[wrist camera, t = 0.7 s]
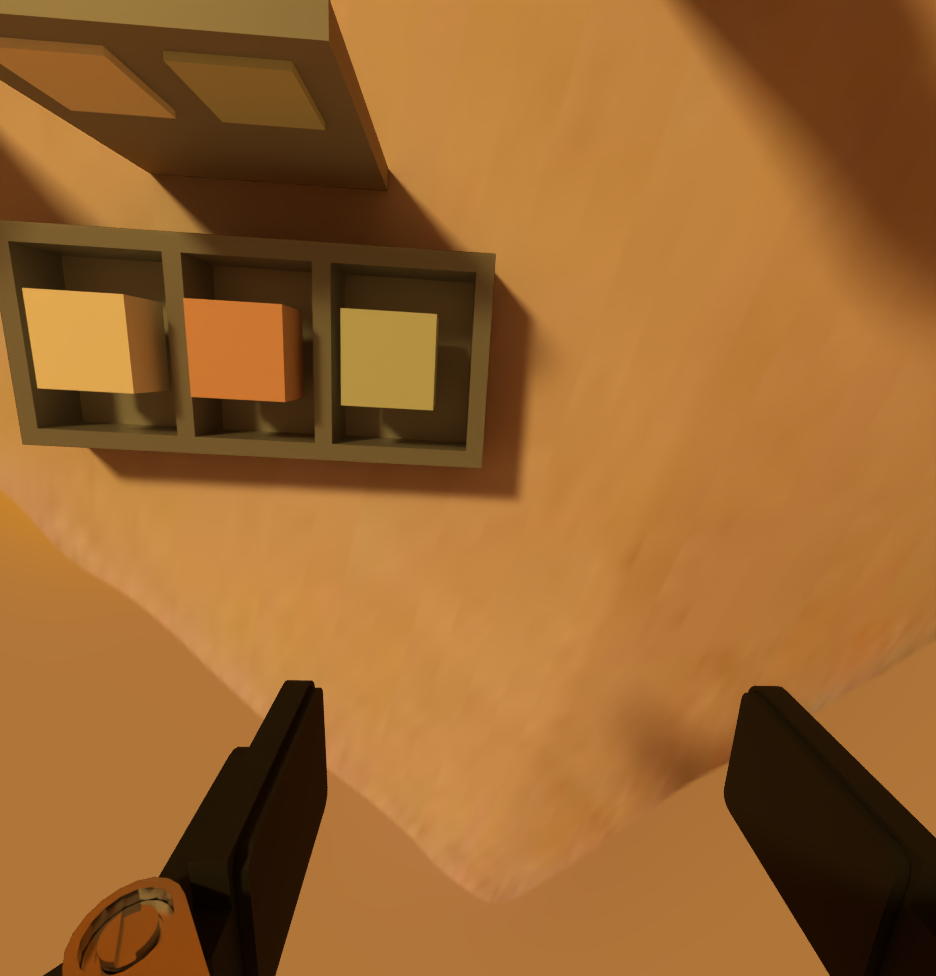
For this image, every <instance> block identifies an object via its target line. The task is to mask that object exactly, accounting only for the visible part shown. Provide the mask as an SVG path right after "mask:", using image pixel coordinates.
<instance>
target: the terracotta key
mask: <svg viewBox="0 0 936 976" xmlns="http://www.w3.org/2000/svg"><path fill="white" fill-rule="evenodd" d="M183 303H184V316H185V328H186V341H187V353H188V366H189V378H190V391H191V397H202V398H220V399H237V400H255V401H273V402H288V401H293V400H297V399H302V398H304V372H303V330H302V311H300V310H297V309H294V308H291V307H288V306H285V305H283V304H270V303H254V302H238V301H223V300H207V299H191V298H183Z"/></svg>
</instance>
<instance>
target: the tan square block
mask: <svg viewBox="0 0 936 976" xmlns="http://www.w3.org/2000/svg"><path fill="white" fill-rule="evenodd" d="M22 291H23V298H24V304H25V310H26V317H27V323H28V330H29V336H30V343H31V349H32V356H33V362H34V369H35V375H36V381H37V388H41V389H59V390H77V391H95V392H113V393H130V394H136V393H147V392H158V391H169V390H170V385H169V373H168V362H167V351H166V340H165V329H164V318H163V307H162V302H158V301H153V300H148V299H143V298H139V297H134V296H129V295H125V294H112V293H97V292H81V291H65V290H49V289H34V288H22Z"/></svg>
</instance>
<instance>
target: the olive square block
mask: <svg viewBox="0 0 936 976" xmlns="http://www.w3.org/2000/svg"><path fill="white" fill-rule="evenodd" d="M340 324H341V405H344V406H362V407H380V408H398V409H416V410H434V408H435V406H436V383H437V358H438V334H439V318H438V316H437V314H428V313H412V312H396V311H380V310H364V309H349V308H340Z"/></svg>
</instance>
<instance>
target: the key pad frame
mask: <svg viewBox="0 0 936 976" xmlns="http://www.w3.org/2000/svg"><path fill="white" fill-rule="evenodd" d="M495 259H496V254H492V253H478V252H463V251H448V250H434V249H419V248H405V247H390V246H375V245H361V244H346V243H331V242H317V241H302V240H288V239H273V238H258V237H244V236H229V235H214V234H200V233H185V232H170V231H156V230H141V229H127V228H112V227H97V226H83V225H68V224H53V223H39V222H24V221H10V220H0V312H1V318H2V324H3V330H4V336H5V342H6V348H7V354H8V360H9V366H10V372H11V378H12V384H13V390H14V396H15V402H16V408H17V414H18V420H19V426H20V432H21V438H22V444H23V445H42V446H61V447H81V448H100V449H119V450H138V451H158V452H177V453H196V454H216V455H235V456H254V457H273V458H293V459H312V460H331V461H350V462H370V463H389V464H408V465H428V466H447V467H466V468H482V456H483V441H484V425H485V410H486V395H487V380H488V365H489V350H490V335H491V319H492V304H493V289H494V274H495ZM22 288H34V289H49V290H65V291H81V292H97V293H112V294H125V295H129V296H134V297H139V298H143V299H148V300H153V301H158V302H162V307H163V318H164V329H165V340H166V351H167V362H168V373H169V385H170V390H169V391H158V392H147V393H136V394H130V393H113V392H95V391H77V390H59V389H41V388H37V381H36V375H35V369H34V362H33V356H32V349H31V343H30V336H29V330H28V323H27V317H26V310H25V304H24V298H23V291H22ZM183 298H191V299H207V300H223V301H238V302H254V303H270V304H283V305H285V306H288V307H291V308H294V309H297V310H300V311H302V330H303V372H304V398H302V399H297V400H293V401H288V402H273V401H255V400H237V399H220V398H202V397H191V391H190V378H189V366H188V353H187V341H186V328H185V316H184V303H183ZM340 308H349V309H364V310H380V311H396V312H412V313H428V314H437V316H438V318H439V334H438V358H437V383H436V406H435V408H434V410H416V409H398V408H380V407H362V406H344V405H341V324H340Z"/></svg>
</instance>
